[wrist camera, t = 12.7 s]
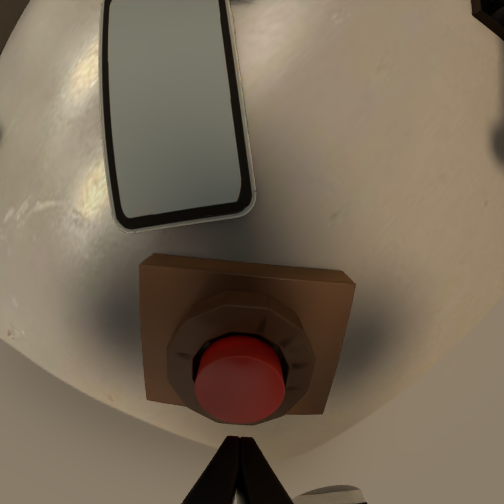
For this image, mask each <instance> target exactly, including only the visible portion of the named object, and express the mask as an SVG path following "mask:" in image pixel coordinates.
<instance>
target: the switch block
mask: <svg viewBox="0 0 504 504" xmlns="http://www.w3.org/2000/svg"><path fill="white" fill-rule="evenodd" d="M139 281H140V321H141V340H142V355H143V367H144V378H145V388H146V397H147V400H150V401H155V402H161V403H167V404H173V405H180V406H186V407H188V408H190V409H191V410H193V411H195V412H197V413H199V414H201V415H203V416H205V417H207V418H209V419H211V420H213V421H215V422H218V423H225V424H237V425H257V424H260V423H263V422H266V421H269V420H272V419H275V418H278V417H281V416H284V415H285V414H293V415H309V414H323V412H324V408H325V405H326V402H327V399H328V395H329V392H330V389H331V385H332V382H333V378H334V375H335V371H336V367H337V364H338V360H339V356H340V352H341V348H342V344H343V340H344V336H345V332H346V328H347V324H348V319H349V315H350V310H351V306H352V301H353V296H354V291H355V286H356V284H355V283H354V282H353V281H352V280H351V279H350V278H349V277H348V276H347V275H346V274H345V273H344V272H343V271H333V270H322V269H311V268H299V267H288V266H277V265H266V264H255V263H245V262H234V261H224V260H213V259H203V258H193V257H183V256H173V255H163V254H152V255H151V256H149V257H148V258H147V259H145V260H144V261H143V262H142V263H140V265H139ZM233 335H245V336H251V337H255V338H257V339H260V340H262V341H264V342H265V343H267V344H268V345H270V346H271V347H272V348H273V349H274V351H275V352H276V353H277V355H278V357H279V359H280V363H281V369H282V374H283V380H284V385H285V394H284V398H283V401H282V403H281V404H280V406H279V407H278V408H277V410H276V411H275V412H273V413H272V414H271V415H269V416H268V417H266V418H264V419H262V420H259V421H256V422H252V423H242V424H240V423H230V422H225V421H222V420H220V419H217V418H215V417H213V416H212V415H210V414H209V413H207V412H206V411H205V410H204V409H203V408H202V407H201V405H200V404H199V402H198V401H197V398H196V395H195V390H194V386H195V380H196V376H197V372H198V368H199V364H200V361H201V357H202V355H203V353H204V352H205V350H206V349H207V348H208V347H209V346H210V345H211V344H212V343H214V342H216V341H217V340H219V339H221V338H224V337H228V336H233Z"/></svg>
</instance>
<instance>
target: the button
mask: <svg viewBox="0 0 504 504" xmlns="http://www.w3.org/2000/svg"><path fill="white" fill-rule="evenodd" d="M194 390H195V395H196V398H197V401H198V402H199V404H200V405H201V407H202V408H203V409H204V410H205V411H206V412H207V413H209V414H210V415H212V416H213V417H215V418H217V419H220V420H222V421H225V422H230V423H240V424H242V423H252V422H256V421H259V420H262V419H264V418H266V417H268V416H269V415H271V414H272V413H273V412H275V411H276V410H277V408H278V407H279V406H280V404H281V403H282V401H283V398H284V394H285V385H284V380H283V374H282V369H281V363H280V359H279V357H278V355H277V353H276V352H275V351H274V349H273V348H272V347H271V346H270V345H268V344H267V343H265V342H264V341H262V340H260V339H257V338H255V337H251V336H245V335H233V336H228V337H224V338H221V339H219V340H217V341H216V342H214V343H212V344H211V345H210V346H209V347H208V348H207V349H206V350H205V352H204V353H203V355H202V357H201V361H200V364H199V368H198V372H197V376H196V380H195V386H194Z"/></svg>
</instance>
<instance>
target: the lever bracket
mask: <svg viewBox="0 0 504 504" xmlns="http://www.w3.org/2000/svg"><path fill="white" fill-rule="evenodd" d="M472 11H473V16H474V17H476V18H477V19H478V20H480V21H481V22H482V23H484V24H485V25H486V26H487V27H489V28H490V29H491V30H492V31H494V32H495V33H496V34H497V35H498V36H500V37H501V38H502V39H503V40H504V0H472Z"/></svg>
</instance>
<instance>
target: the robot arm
mask: <svg viewBox="0 0 504 504" xmlns="http://www.w3.org/2000/svg"><path fill="white" fill-rule="evenodd" d="M235 494H236V497H237V504H294V503H293V501H292V500H291V498H290V497H289V495H288V494H287V492H286V491H285V489H284V488H283V486H282V484H281V483H280V481H279V480H278V478H277V477H276V475H275V473H274V472H273V470H272V469H271V467H270V465H269V464H268V462H267V460H266V459H265V457H264V455H263V454H262V452H261V450H260V449H259V447H258V445H257V444H256V442H255V440H254V439H253V438H252V437H241V438H239V437H238V436H227V437H226V438H225V440H224V441H223V443H222V445H221V446H220V448H219V449H218V451H217V453H216V454H215V455H214V457H213V458H212V460H211V461H210V463H209V465H208V466H207V467H206V469H205V470H204V472H203V473H202V475H201V476H200V478H199V479H198V481H197V482H196V483H195V485H194V486H193V488H192V489H191V491H190V492H189V493H188V495H187V496H186V498H185V499H184V500H183V503H181V504H234V500H235ZM357 504H367V502H363V503H357Z"/></svg>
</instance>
